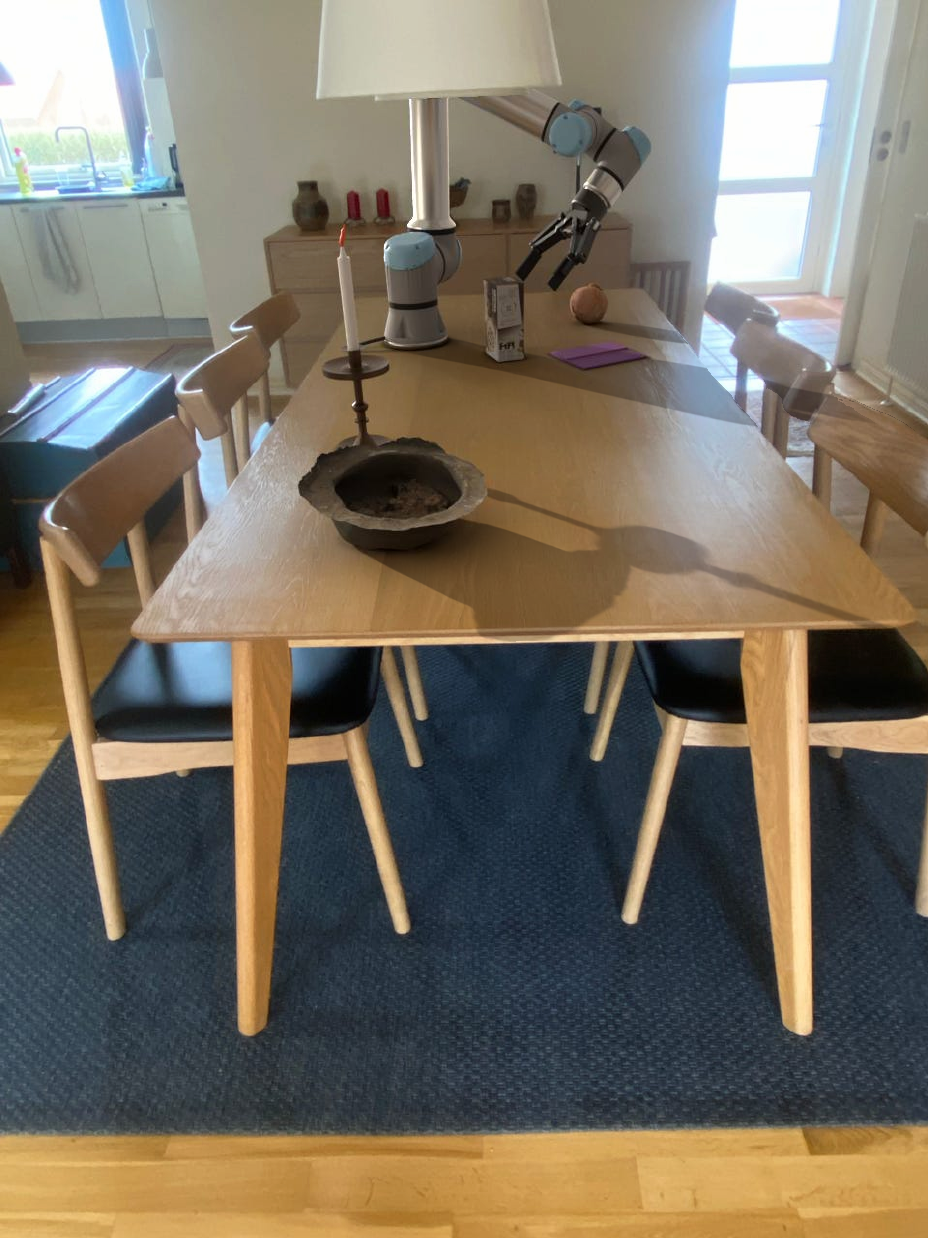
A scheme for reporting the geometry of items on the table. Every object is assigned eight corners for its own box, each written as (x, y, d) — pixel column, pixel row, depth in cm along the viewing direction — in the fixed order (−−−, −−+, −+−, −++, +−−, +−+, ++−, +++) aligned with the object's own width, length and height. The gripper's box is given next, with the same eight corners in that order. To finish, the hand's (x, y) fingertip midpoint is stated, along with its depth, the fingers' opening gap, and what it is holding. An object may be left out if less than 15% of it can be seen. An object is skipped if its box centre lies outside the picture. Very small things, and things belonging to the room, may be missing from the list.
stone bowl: (330, 488, 126) (326, 430, 121) (491, 500, 125) (495, 442, 120) (284, 565, 105) (277, 499, 100) (477, 581, 104) (481, 514, 99)
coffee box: (525, 359, 182) (525, 282, 173) (497, 362, 181) (496, 285, 172) (511, 349, 189) (510, 274, 181) (485, 352, 188) (482, 277, 179)
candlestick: (391, 434, 146) (371, 216, 127) (401, 456, 137) (380, 226, 118) (330, 441, 144) (300, 222, 125) (336, 464, 135) (304, 231, 116)
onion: (591, 330, 212) (601, 290, 210) (609, 327, 204) (619, 286, 202) (559, 320, 209) (569, 279, 207) (576, 317, 200) (586, 274, 198)
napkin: (584, 369, 174) (584, 366, 173) (550, 354, 184) (550, 351, 184) (646, 357, 179) (647, 354, 179) (610, 343, 190) (610, 340, 189)
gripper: (639, 216, 170) (575, 303, 172) (574, 206, 189) (517, 283, 192) (619, 190, 165) (554, 279, 168) (554, 182, 184) (496, 262, 187)
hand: (534, 282), depth 180 cm, fingers open, 13 cm apart
